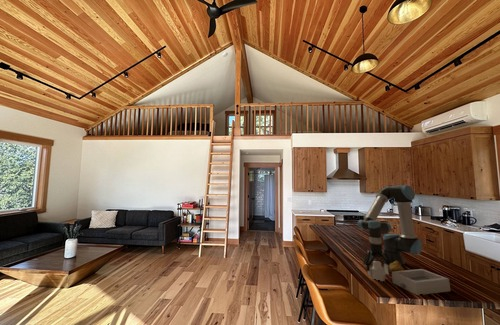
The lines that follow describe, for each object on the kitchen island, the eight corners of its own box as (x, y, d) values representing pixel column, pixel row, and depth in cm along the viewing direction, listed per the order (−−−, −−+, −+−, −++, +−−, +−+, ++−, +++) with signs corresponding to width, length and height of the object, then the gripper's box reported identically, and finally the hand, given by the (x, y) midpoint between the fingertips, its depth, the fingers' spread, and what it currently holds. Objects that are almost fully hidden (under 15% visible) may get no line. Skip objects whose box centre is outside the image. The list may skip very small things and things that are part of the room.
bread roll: (407, 277, 149) (406, 265, 150) (391, 276, 151) (390, 264, 152) (400, 271, 161) (399, 260, 162) (385, 270, 163) (384, 259, 164)
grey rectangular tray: (390, 283, 141) (389, 271, 142) (423, 279, 145) (421, 268, 146) (414, 295, 124) (413, 282, 125) (450, 291, 129) (448, 278, 129)
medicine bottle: (374, 275, 153) (372, 258, 154) (385, 278, 148) (384, 260, 150) (372, 279, 147) (370, 261, 149) (384, 282, 143) (382, 263, 144)
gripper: (363, 245, 145) (366, 278, 142) (395, 243, 149) (398, 275, 146) (356, 242, 152) (358, 274, 149) (386, 240, 156) (389, 271, 154)
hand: (378, 274), depth 148 cm, fingers open, 13 cm apart
